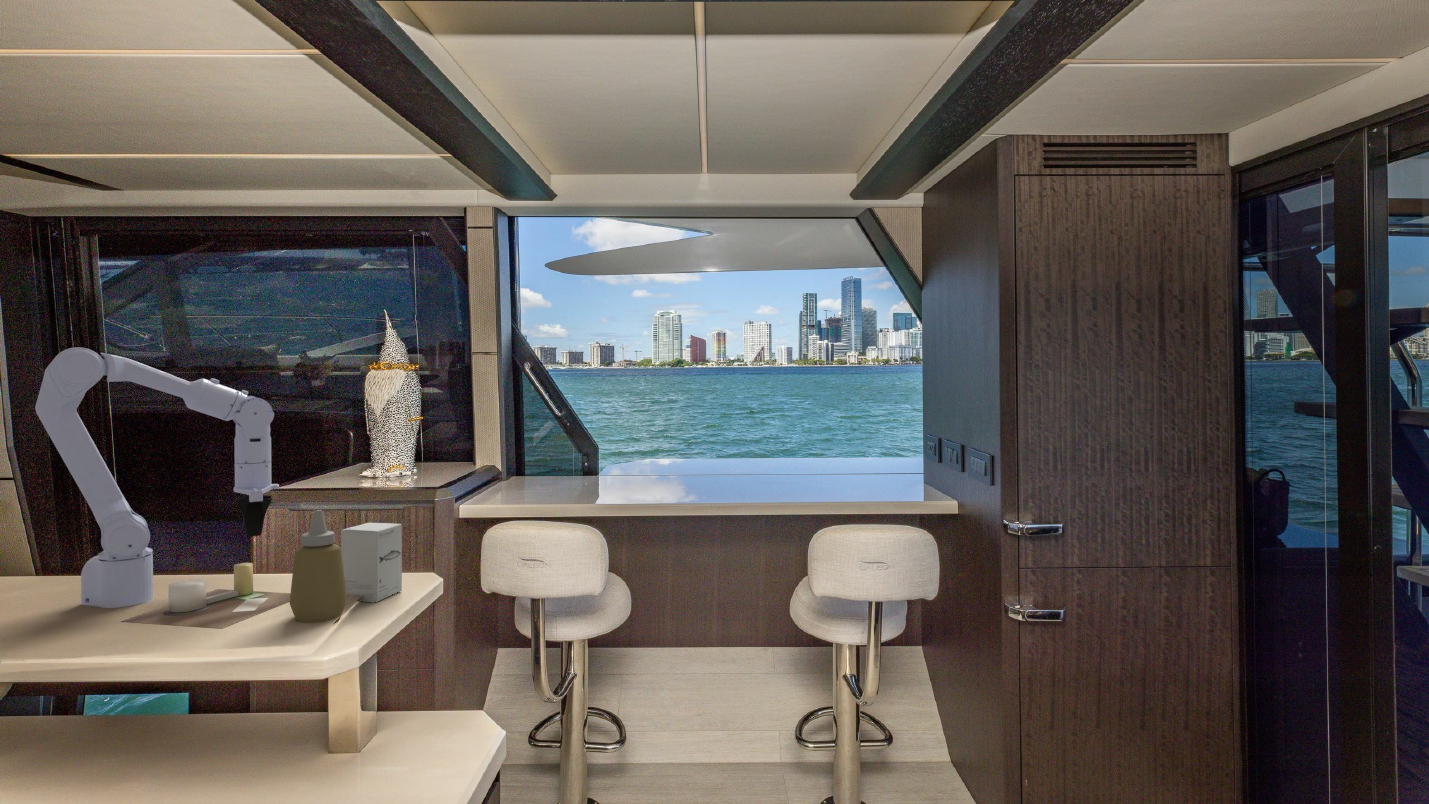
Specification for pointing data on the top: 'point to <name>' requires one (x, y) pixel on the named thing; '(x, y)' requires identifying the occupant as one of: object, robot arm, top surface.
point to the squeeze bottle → (318, 575)
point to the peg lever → (195, 595)
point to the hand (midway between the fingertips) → (253, 535)
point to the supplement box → (372, 560)
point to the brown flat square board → (216, 611)
